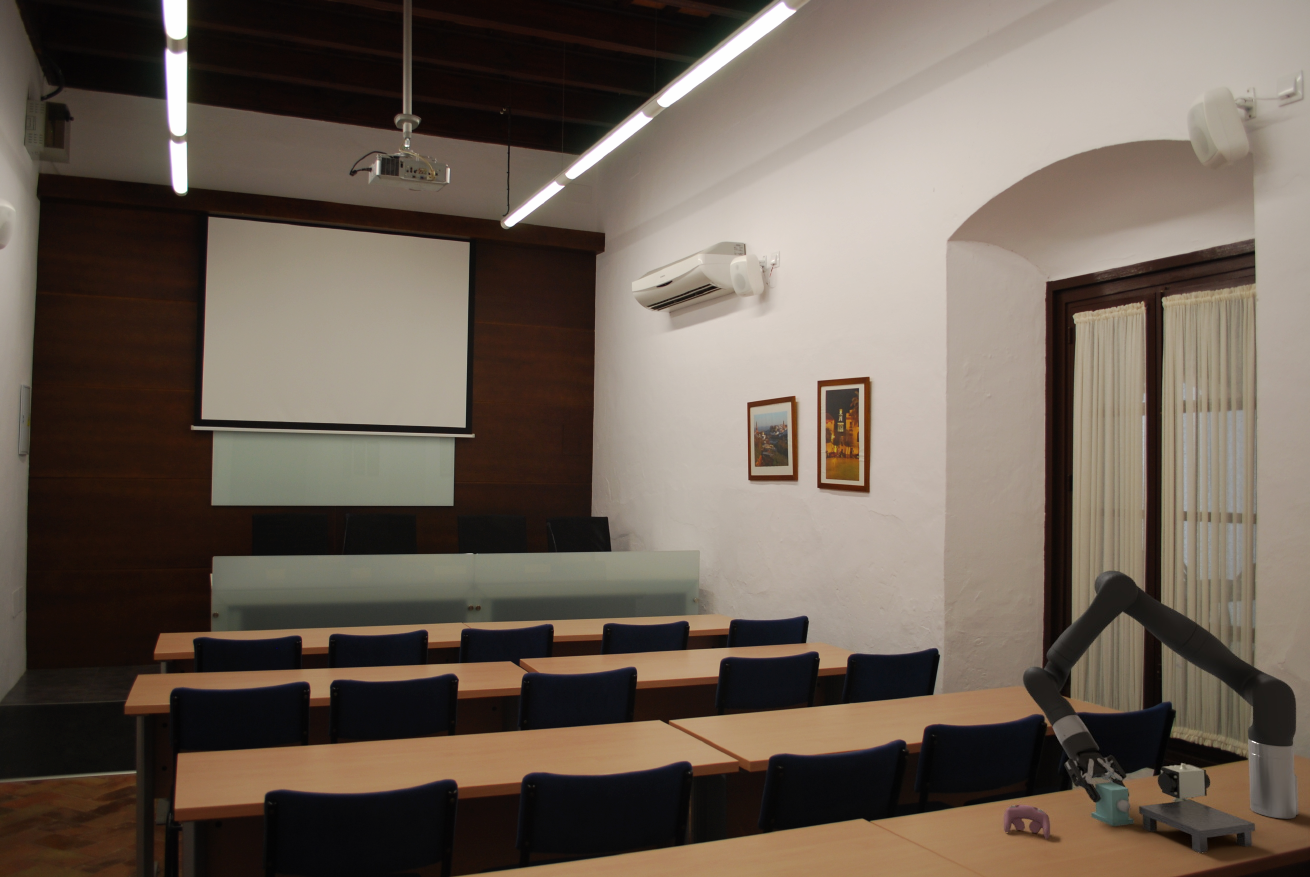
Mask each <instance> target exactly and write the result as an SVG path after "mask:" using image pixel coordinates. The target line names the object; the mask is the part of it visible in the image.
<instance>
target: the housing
mask: <svg viewBox="0 0 1310 877" xmlns="http://www.w3.org/2000/svg"><path fill="white" fill-rule="evenodd" d="M1094 787H1095V788H1096V790H1097V792H1098V793H1099V795H1100V797H1101V800H1100V801H1098V802H1096V803H1095V811H1094V812H1091V813H1090V814H1091V818H1092V819H1095V820H1098V821H1100V822H1102V823H1105V824H1106V825H1109V826H1111V827H1116V826H1124V825H1125V826H1126V825H1133V824H1134V823H1135V820H1134V818H1132V817H1130V810H1131V804H1130V802H1129V801H1130V800H1129V799H1130V798H1129V797H1130V795H1129V796H1128V792H1129V788H1128V787H1126V786H1125V787H1123V786H1120V785H1118V784H1115V783H1113V782H1110V781H1109V782H1099V783H1095V785H1094Z"/></svg>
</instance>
